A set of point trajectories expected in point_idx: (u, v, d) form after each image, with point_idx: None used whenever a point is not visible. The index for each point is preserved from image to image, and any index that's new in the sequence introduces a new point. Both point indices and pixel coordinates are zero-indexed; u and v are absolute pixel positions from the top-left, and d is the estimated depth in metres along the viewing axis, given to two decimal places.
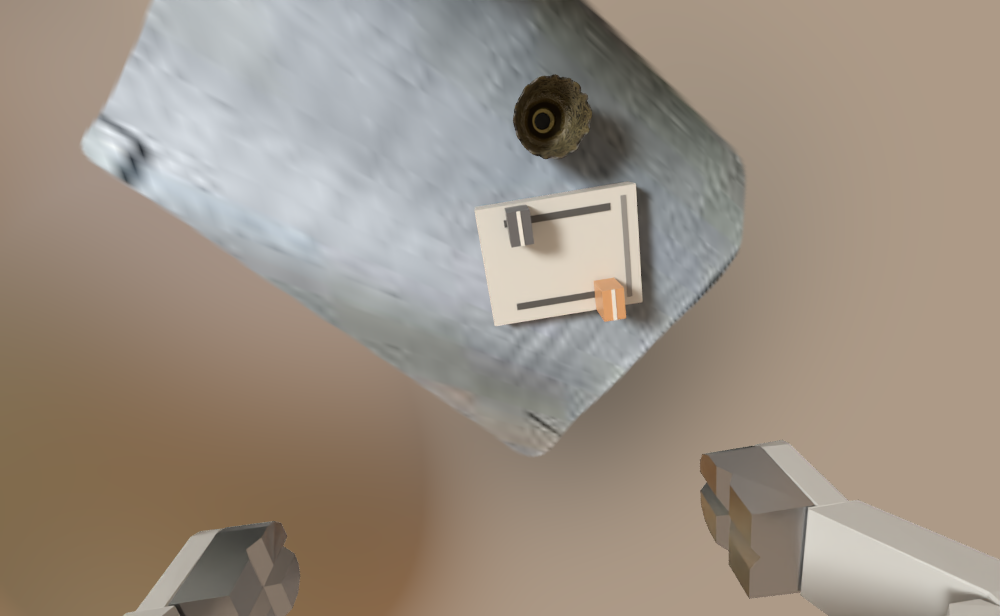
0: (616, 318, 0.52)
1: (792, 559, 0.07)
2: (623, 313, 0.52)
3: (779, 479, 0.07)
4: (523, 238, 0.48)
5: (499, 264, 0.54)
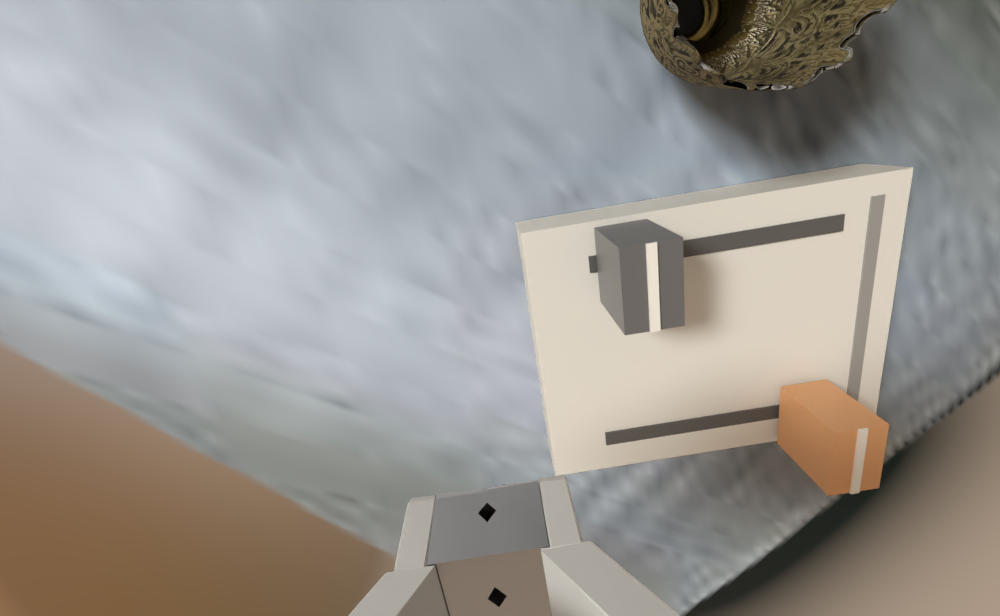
0: (857, 489, 0.22)
1: (538, 597, 0.07)
2: (875, 478, 0.22)
3: (534, 517, 0.08)
4: (659, 314, 0.18)
5: (572, 353, 0.24)
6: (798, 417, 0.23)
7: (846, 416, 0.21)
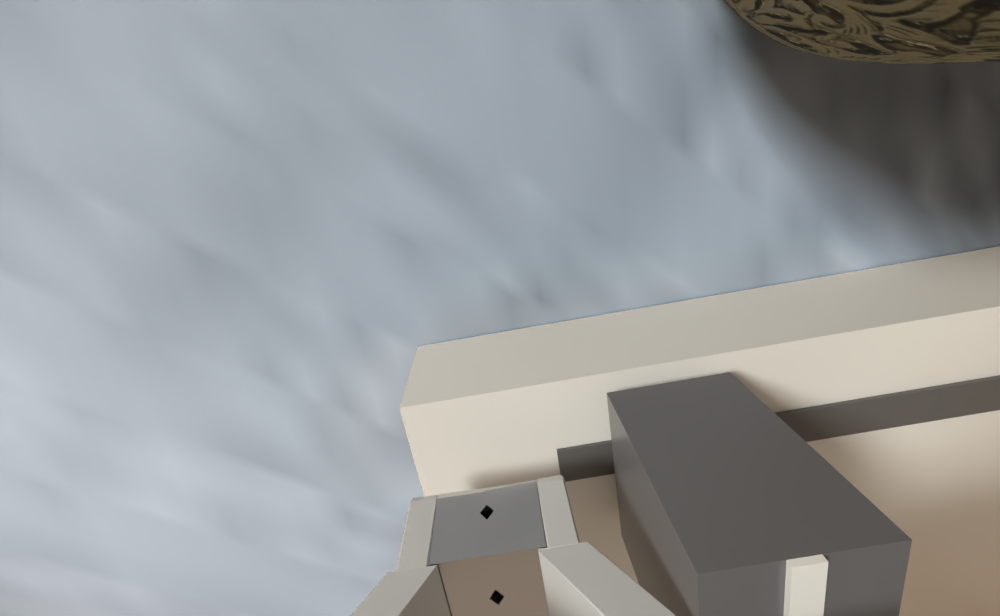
0: None
1: (536, 598, 0.07)
2: None
3: (531, 517, 0.08)
4: None
5: None
6: None
7: None
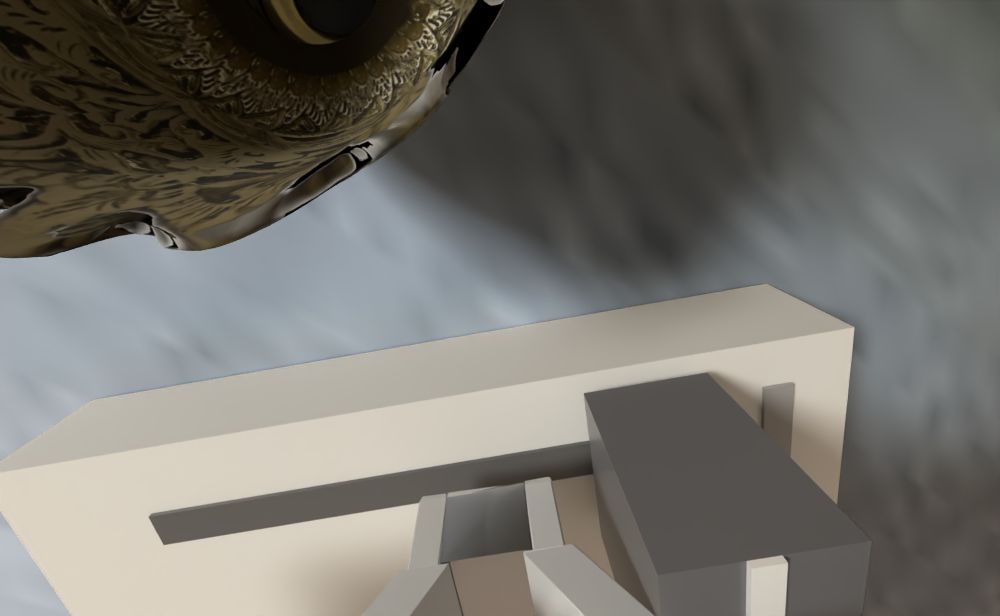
0: None
1: (522, 600, 0.07)
2: None
3: (517, 519, 0.08)
4: None
5: None
6: None
7: None
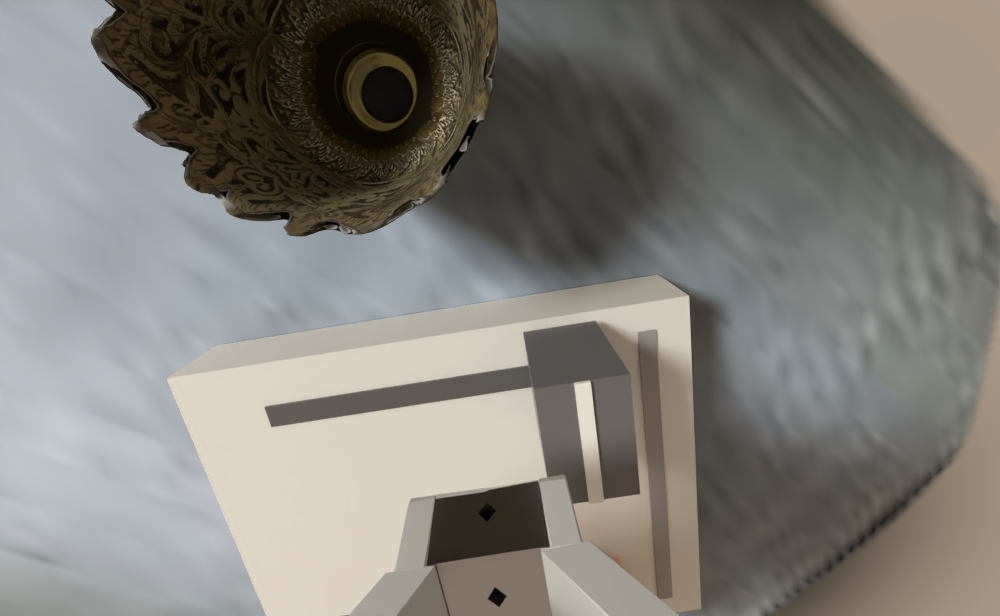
0: None
1: (538, 598, 0.07)
2: None
3: (533, 517, 0.08)
4: (601, 480, 0.12)
5: (274, 522, 0.18)
6: None
7: None
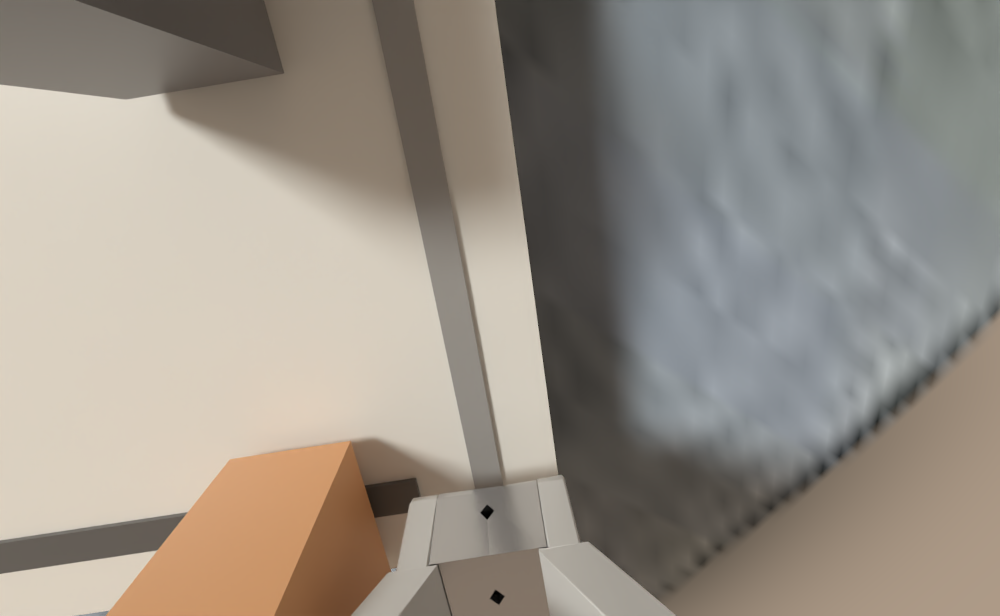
0: None
1: (536, 598, 0.07)
2: None
3: (531, 517, 0.08)
4: None
5: None
6: None
7: (199, 594, 0.06)
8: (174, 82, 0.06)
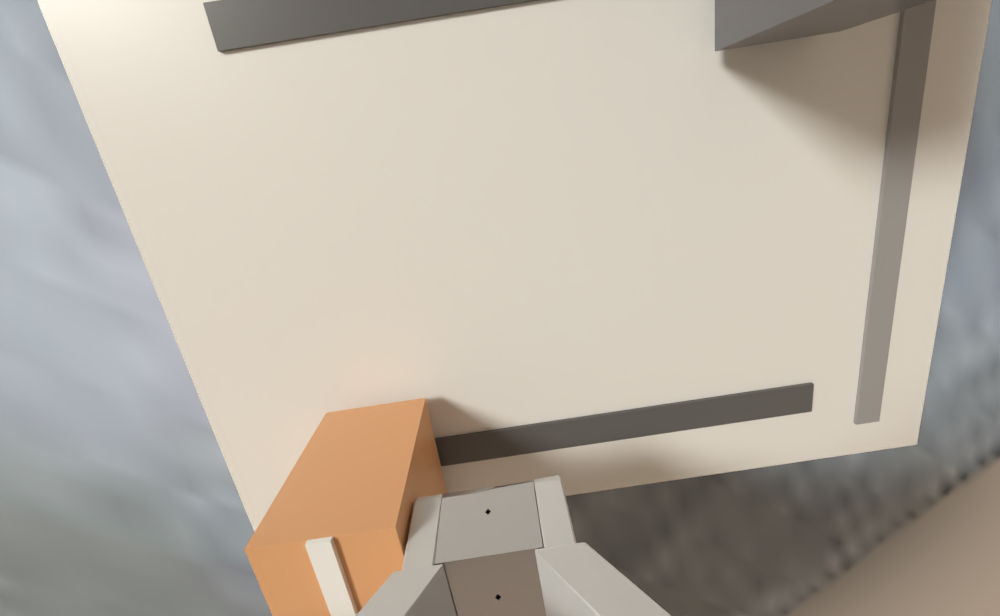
0: None
1: (533, 599, 0.07)
2: None
3: (528, 518, 0.08)
4: None
5: (229, 267, 0.10)
6: None
7: (336, 496, 0.08)
8: (794, 34, 0.08)
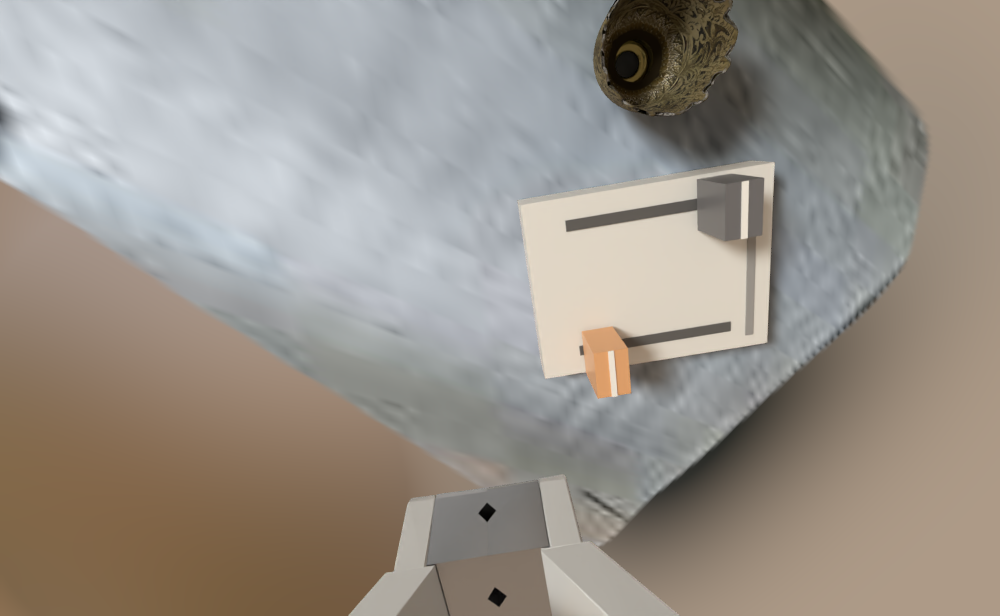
0: (616, 393, 0.33)
1: (538, 598, 0.07)
2: (627, 386, 0.33)
3: (533, 517, 0.08)
4: (747, 227, 0.29)
5: (556, 287, 0.35)
6: (586, 349, 0.35)
7: (606, 345, 0.33)
8: None
